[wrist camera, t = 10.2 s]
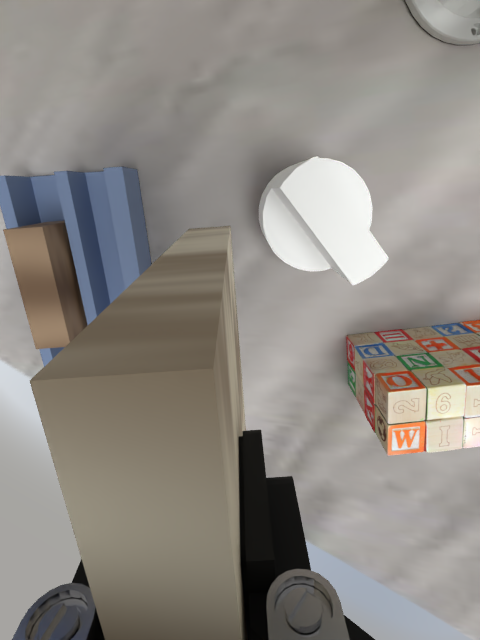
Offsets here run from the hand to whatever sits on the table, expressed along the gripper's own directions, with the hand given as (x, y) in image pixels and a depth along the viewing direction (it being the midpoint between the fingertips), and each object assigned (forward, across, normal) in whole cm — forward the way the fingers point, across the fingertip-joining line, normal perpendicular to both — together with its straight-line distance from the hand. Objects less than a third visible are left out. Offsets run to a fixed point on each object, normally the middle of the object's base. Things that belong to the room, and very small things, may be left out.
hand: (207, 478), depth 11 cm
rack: (+29, +13, -1) cm, 32 cm away
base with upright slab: (+29, -8, -5) cm, 31 cm away
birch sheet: (+10, 0, 0) cm, 10 cm away
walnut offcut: (+28, +15, -1) cm, 32 cm away
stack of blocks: (+29, -23, +11) cm, 39 cm away
